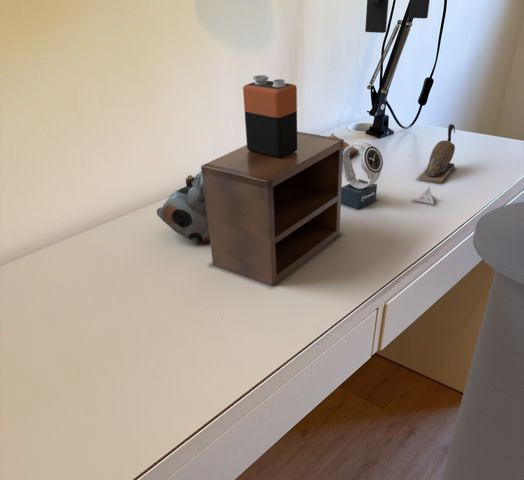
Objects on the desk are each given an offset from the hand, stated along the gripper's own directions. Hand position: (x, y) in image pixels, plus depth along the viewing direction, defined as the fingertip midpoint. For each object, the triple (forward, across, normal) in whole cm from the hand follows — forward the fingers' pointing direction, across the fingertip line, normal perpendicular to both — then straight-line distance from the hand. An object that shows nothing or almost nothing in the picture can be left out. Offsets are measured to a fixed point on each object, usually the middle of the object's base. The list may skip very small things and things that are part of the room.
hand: (397, 25), depth 75 cm
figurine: (+31, -30, -1) cm, 43 cm away
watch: (+31, -7, -8) cm, 33 cm away
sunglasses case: (+31, -23, -25) cm, 46 cm away
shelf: (+31, +17, -10) cm, 36 cm away
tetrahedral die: (+31, -14, +3) cm, 34 cm away
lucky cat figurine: (+31, +17, -26) cm, 44 cm away
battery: (+15, +17, -11) cm, 25 cm away
